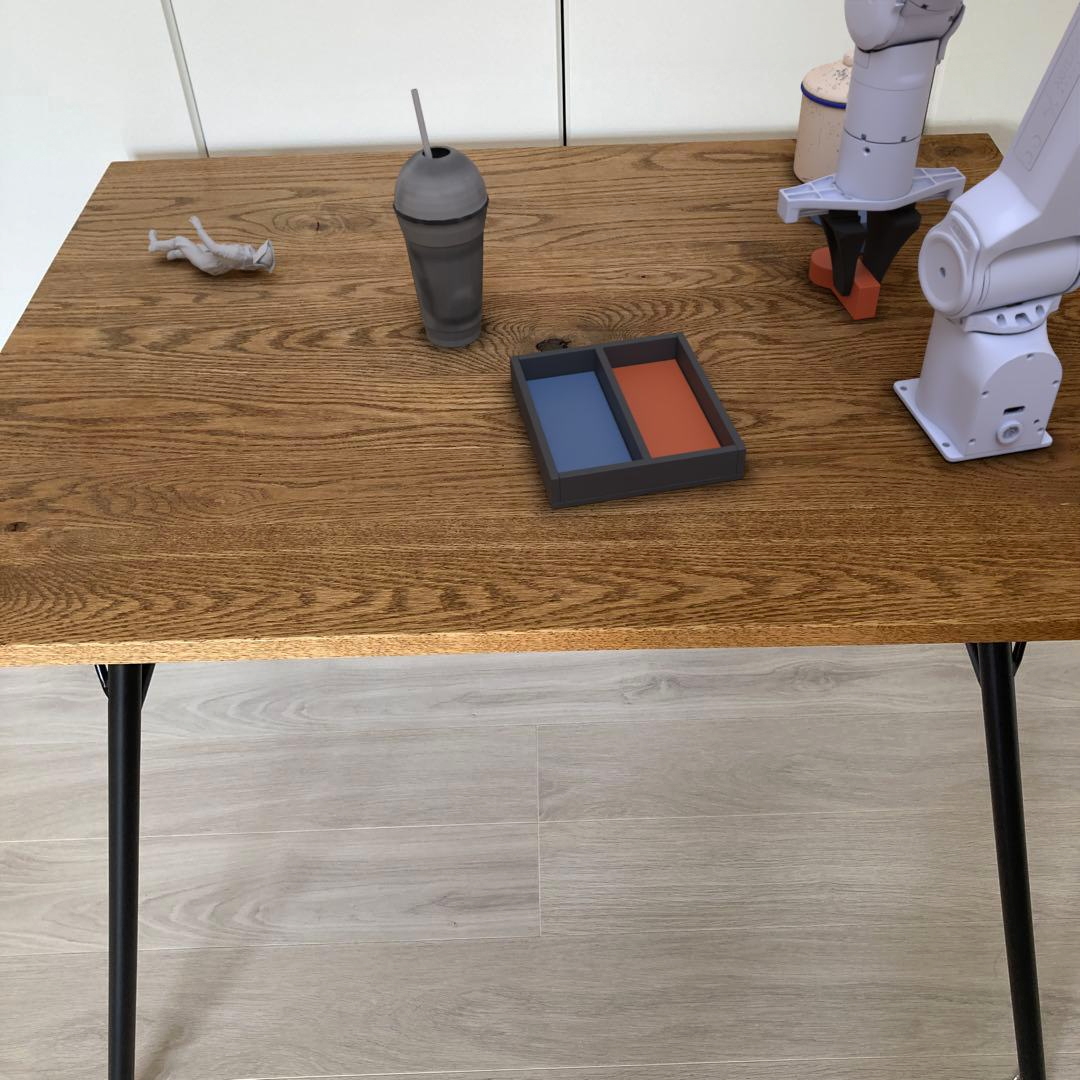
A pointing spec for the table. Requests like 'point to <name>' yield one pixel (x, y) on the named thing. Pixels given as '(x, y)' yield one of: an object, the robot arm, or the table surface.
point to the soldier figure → (214, 252)
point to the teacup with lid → (822, 119)
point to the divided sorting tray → (624, 420)
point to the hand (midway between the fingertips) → (855, 288)
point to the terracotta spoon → (862, 291)
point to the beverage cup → (444, 237)
